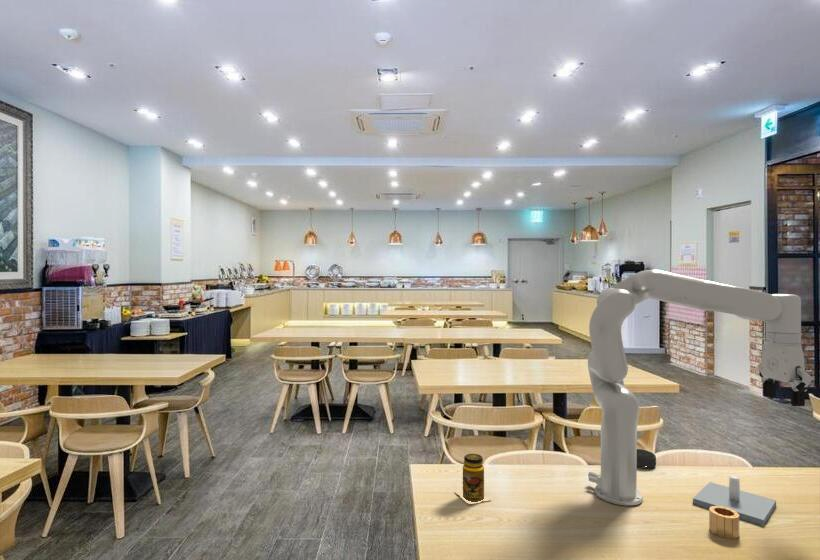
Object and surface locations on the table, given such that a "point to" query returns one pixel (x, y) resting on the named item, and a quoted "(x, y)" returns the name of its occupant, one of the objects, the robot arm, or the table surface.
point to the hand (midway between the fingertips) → (783, 401)
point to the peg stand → (736, 501)
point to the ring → (724, 522)
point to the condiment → (473, 478)
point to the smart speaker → (645, 459)
